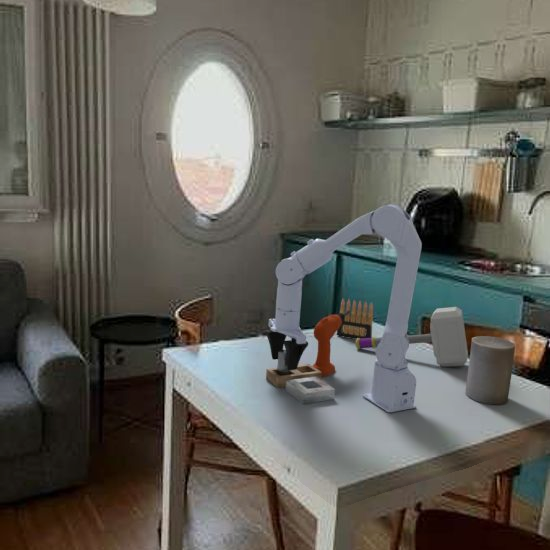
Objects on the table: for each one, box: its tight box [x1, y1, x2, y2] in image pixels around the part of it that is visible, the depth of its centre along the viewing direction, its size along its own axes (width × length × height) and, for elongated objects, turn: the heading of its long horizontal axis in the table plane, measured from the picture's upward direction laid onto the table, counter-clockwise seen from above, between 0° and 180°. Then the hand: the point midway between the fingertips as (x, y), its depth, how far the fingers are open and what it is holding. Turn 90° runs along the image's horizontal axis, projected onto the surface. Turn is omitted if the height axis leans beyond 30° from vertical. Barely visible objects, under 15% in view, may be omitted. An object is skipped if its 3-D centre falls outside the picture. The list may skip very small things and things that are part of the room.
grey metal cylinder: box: [276, 349, 290, 376], centre depth 135 cm, size 3×3×8 cm
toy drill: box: [312, 309, 351, 377], centre depth 146 cm, size 5×19×15 cm, turn 148°
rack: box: [265, 363, 323, 388], centre depth 136 cm, size 12×6×2 cm, turn 118°
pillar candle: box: [465, 335, 516, 406], centre depth 133 cm, size 10×10×15 cm
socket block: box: [285, 377, 336, 405], centre depth 128 cm, size 8×8×2 cm
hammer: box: [355, 306, 469, 368], centre depth 159 cm, size 15×8×30 cm
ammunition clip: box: [336, 298, 374, 340], centre depth 174 cm, size 11×2×12 cm, turn 69°
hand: (284, 364), depth 134 cm, fingers open, 7 cm apart
